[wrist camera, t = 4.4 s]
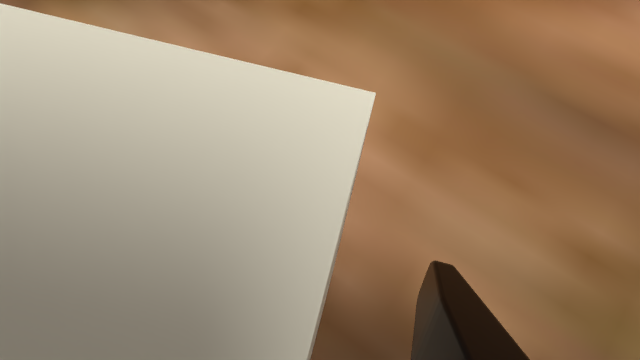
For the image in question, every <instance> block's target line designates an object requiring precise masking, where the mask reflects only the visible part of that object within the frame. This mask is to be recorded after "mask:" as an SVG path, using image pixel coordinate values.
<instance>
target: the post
mask: <svg viewBox="0 0 640 360" xmlns="http://www.w3.org/2000/svg"><path fill="white" fill-rule="evenodd" d="M375 95H376V93H374V92H370V91H365V90H361V89H357V88H353V87H349V86H344V85H340V84H336V83H332V82H328V81H323V80H319V79H315V78H311V77H307V76H302V75H298V74H294V73H290V72H286V71H281V70H277V69H273V68H269V67H265V66H260V65H256V64H252V63H248V62H244V61H239V60H235V59H231V58H227V57H223V56H218V55H214V54H210V53H206V52H202V51H197V50H193V49H189V48H185V47H181V46H177V45H172V44H168V43H164V42H160V41H156V40H151V39H147V38H143V37H139V36H135V35H130V34H126V33H122V32H118V31H114V30H109V29H105V28H101V27H97V26H93V25H88V24H84V23H80V22H76V21H72V20H67V19H63V18H59V17H55V16H51V15H46V14H42V13H38V12H34V11H30V10H25V9H21V8H17V7H13V6H9V5H4V4H0V360H310V359H311V355H312V351H313V347H314V343H315V339H316V335H317V331H318V327H319V324H320V320H321V316H322V312H323V308H324V304H325V300H326V296H327V292H328V289H329V285H330V281H331V277H332V273H333V269H334V265H335V260H336V256H337V252H338V248H339V244H340V240H341V236H342V231H343V227H344V223H345V219H346V215H347V211H348V207H349V203H350V198H351V194H352V190H353V186H354V182H355V178H356V174H357V169H358V165H359V161H360V157H361V153H362V149H363V145H364V140H365V136H366V132H367V128H368V124H369V120H370V116H371V111H372V107H373V103H374V99H375Z"/></svg>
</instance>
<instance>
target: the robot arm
mask: <svg viewBox="0 0 640 360" xmlns="http://www.w3.org/2000/svg"><path fill="white" fill-rule="evenodd" d="M411 360H530V359H529V358H528V357H527V356H526V354H525V353H524V352H523V351H522V350H521V348H520V347H519V346H518V345H517V343H516V342H515V341H514V340H513V338H512V337H511V336H510V335H509V333H508V332H507V331H506V330H505V329H504V327H503V326H502V325H501V324H500V322H499V321H498V320H497V319H496V317H495V316H494V315H493V314H492V313H491V311H490V310H489V309H488V308H487V306H486V305H485V304H484V303H483V301H482V300H481V299H480V298H479V296H478V295H477V294H476V293H475V292H474V290H473V289H472V288H471V287H470V285H469V284H468V283H467V282H466V280H465V279H464V278H463V277H462V276H461V274H460V273H459V272H458V271H457V269H456V268H455V267H454V266H453V265H450V264H447V263H443V262H439V261H432V262H431V263H430V265H429V267H428V270H427V273H426V275H425V278H424V281H423V283H422V286H421V289H420V291H419V295H418V299H417V305H416V314H415V324H414V334H413V344H412V354H411Z"/></svg>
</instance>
